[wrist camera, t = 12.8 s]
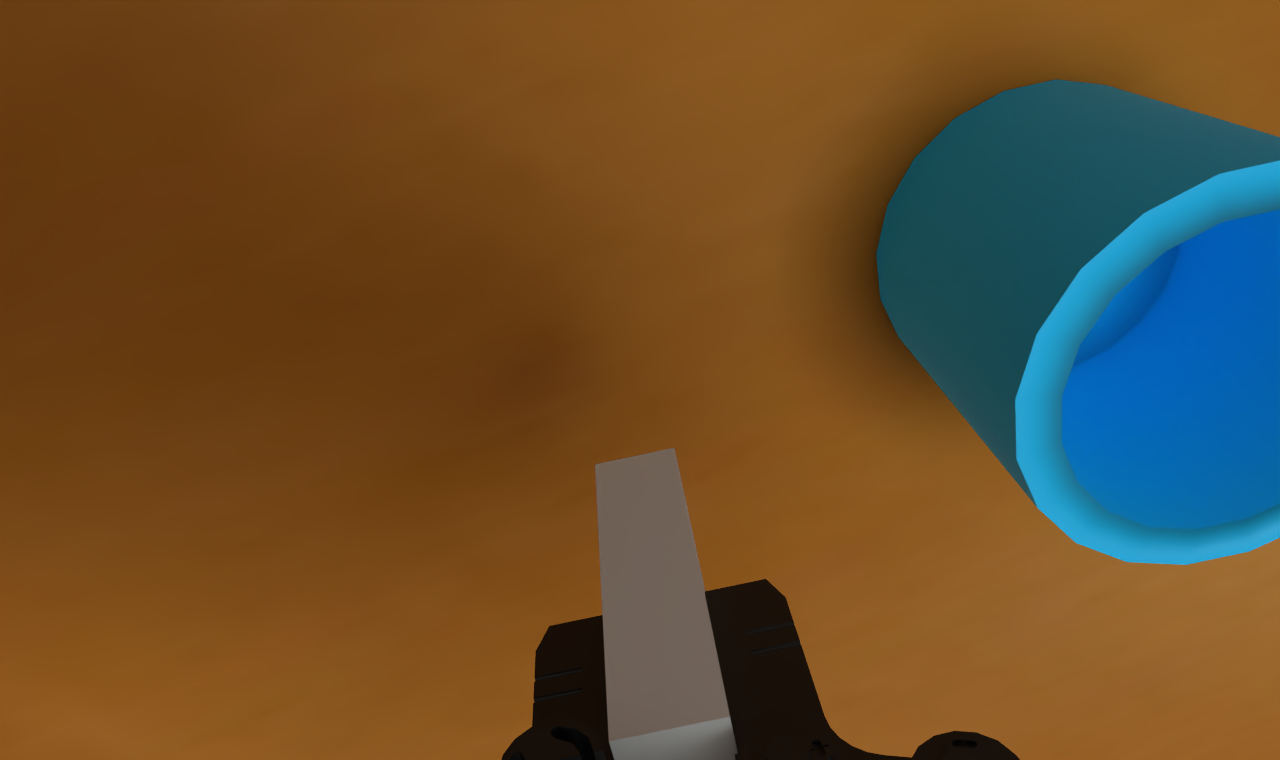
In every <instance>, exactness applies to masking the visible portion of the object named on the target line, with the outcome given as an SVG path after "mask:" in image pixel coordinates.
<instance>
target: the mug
mask: <svg viewBox="0 0 1280 760" xmlns="http://www.w3.org/2000/svg"><path fill="white" fill-rule="evenodd" d="M876 257H877V268H878V279H879V290H880V299H881V301H882V304H883V306H884V308H885V310H886V312H887V314H888V316H889V318H890V320H891V322H892V324H893V327H894V329H895V331H896V333H897V335H898V337H899V338H900V339H901V341H902V342H903V343H904V344H905V346H906V347H907V348H908V349H909V350H910V352H911V353H912V354H913V355H914V357H915V358H916V359H917V360H918V362H919V363H920V364H921V365H922V366H923V368H924V369H925V370H926V371H927V373H928V374H929V375H930V376H931V378H932V379H933V380H934V381H935V382H936V384H937V385H938V386H939V387H940V389H941V390H942V391H943V392H944V393H945V395H946V396H947V397H948V398H949V400H950V401H951V402H952V403H953V405H954V406H955V407H956V408H957V409H958V411H959V412H960V413H961V414H962V416H963V417H964V418H965V419H966V420H967V422H968V423H969V424H970V425H971V427H972V428H973V429H974V430H975V432H976V433H977V434H978V435H979V436H980V438H981V439H982V440H983V441H984V443H985V444H986V445H987V446H988V448H989V449H990V450H991V451H992V452H993V454H994V455H995V456H996V457H997V459H998V460H999V461H1000V462H1001V463H1002V465H1003V466H1004V467H1005V468H1006V470H1007V471H1008V472H1009V473H1010V475H1011V476H1012V477H1013V478H1014V479H1015V481H1016V482H1017V483H1018V484H1019V486H1020V487H1021V488H1022V489H1023V490H1024V492H1025V493H1026V494H1027V495H1028V497H1029V498H1030V499H1031V500H1032V502H1033V503H1034V504H1035V505H1036V506H1037V508H1038V509H1039V510H1041V511H1042V512H1043V513H1044V514H1045V515H1046V516H1047V517H1048V518H1049V519H1050V520H1051V521H1053V522H1054V523H1055V524H1056V525H1057V526H1058V527H1059V528H1060V529H1061V530H1062V531H1064V532H1065V533H1066V534H1067V535H1068V536H1069V537H1070V538H1071V539H1072V540H1073V541H1075V542H1076V543H1078V544H1081V545H1083V546H1086V547H1088V548H1091V549H1094V550H1096V551H1099V552H1102V553H1104V554H1107V555H1110V556H1112V557H1115V558H1118V559H1120V560H1123V561H1126V562H1140V563H1161V564H1182V565H1187V564H1192V563H1196V562H1201V561H1206V560H1211V559H1215V558H1220V557H1225V556H1230V555H1234V554H1239V553H1244V552H1249V551H1251V550H1253V549H1256V548H1258V547H1260V546H1262V545H1264V544H1267V543H1269V542H1271V541H1273V540H1275V539H1278V538H1280V137H1277V136H1274V135H1270V134H1267V133H1264V132H1260V131H1257V130H1254V129H1250V128H1247V127H1244V126H1240V125H1237V124H1234V123H1230V122H1227V121H1224V120H1220V119H1217V118H1214V117H1210V116H1207V115H1204V114H1200V113H1197V112H1194V111H1190V110H1187V109H1184V108H1180V107H1177V106H1174V105H1170V104H1167V103H1164V102H1160V101H1157V100H1154V99H1151V98H1147V97H1144V96H1141V95H1137V94H1134V93H1131V92H1127V91H1124V90H1121V89H1117V88H1114V87H1111V86H1107V85H1101V84H1092V83H1083V82H1075V81H1066V80H1057V79H1056V80H1051V81H1047V82H1042V83H1038V84H1033V85H1029V86H1024V87H1020V88H1015V89H1011V90H1006V91H1003V92H1001V93H999V94H997V95H996V96H994V97H992V98H990V99H988V100H987V101H985V102H983V103H981V104H979V105H978V106H976V107H974V108H972V109H971V110H969V111H967V112H965V113H963V114H962V115H960V116H958V117H956V118H954V119H953V120H952V121H951V122H950V123H949V124H948V125H947V126H946V127H945V128H944V129H943V130H942V131H941V132H940V133H939V134H938V135H937V136H936V137H935V138H934V139H933V140H932V141H931V142H930V143H929V144H928V145H927V146H926V147H925V148H924V149H923V150H922V151H921V152H920V153H919V154H918V155H917V156H916V157H915V158H914V160H913V161H912V163H911V165H910V167H909V168H908V170H907V172H906V174H905V175H904V177H903V179H902V181H901V182H900V184H899V186H898V188H897V189H896V191H895V193H894V195H893V196H892V198H891V200H890V202H889V203H888V206H887V210H886V214H885V218H884V223H883V227H882V231H881V235H880V240H879V244H878V248H877V252H876Z"/></svg>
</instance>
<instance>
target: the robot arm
mask: <svg viewBox="0 0 1280 760" xmlns="http://www.w3.org/2000/svg"><path fill="white" fill-rule="evenodd" d="M595 472H596V492H597V512H598V532H599V553H600V573H601V593H602V613H603V615H601V616H596V617H591V618H586V619H581V620H576V621H572V622H567V623H562V624H557V625H552V626H549V628H548V630H547V632H546V634H545V635H544V637H543V639H542V641H541V643H540V645H539V646H538V648H537V650H536V658H535V682H534V703H533V722H532V727H531V728H530V729H528V730H527V731H526V732H524V733H523V734H521V735H520V736H519V737H517V738H516V739H515V740H514V741H513V742H512V744H511V745H510V746H509V748H508V749H507V750H506V752H505V753H504V754H503V757H502V760H1020V759H1019V758H1018V757H1017V756H1016V755H1015V754H1014V753H1013V752H1011V751H1010V750H1009V749H1008V748H1006V747H1005V746H1004V745H1003V744H1001V743H1000V742H999V741H997V740H995V739H992V738H989V737H987V736H984V735H981V734H979V733H974V732H961V731H952V732H948V733H944V734H940V735H936V736H933V737H932V738H930V739H929V740H927V741H926V742H924V743H923V744H922V745H920V746H919V747H918V748H917V750H916V752H915V753H914V755H913V757H912V758H910V757H898V756H886V755H879V754H874V753H868V752H865V751H863V750H860V749H858V748H855V747H853V746H851V745H850V744H848V743H847V742H845V741H844V740H842V739H841V738H839V737H838V736H837V734H836V733H835V732H834V731H833V730H832V729H831V728H830V726H829V724H828V722H827V720H826V718H825V716H824V713H823V710H822V707H821V704H820V701H819V698H818V695H817V692H816V689H815V686H814V683H813V680H812V677H811V674H810V671H809V668H808V665H807V662H806V658H805V655H804V652H803V649H802V646H801V644H800V640H799V637H798V634H797V631H796V628H795V626H794V622H793V619H792V616H791V613H790V610H789V607H788V604H787V601H786V598H785V596H783V595H782V594H781V593H780V592H779V591H778V590H777V589H776V588H775V587H774V586H773V585H772V584H770V583H769V582H768V581H767V580H766V579H764V580H759V581H754V582H749V583H744V584H740V585H735V586H730V587H725V588H720V589H715V590H711V591H706V592H705V588H704V584H703V579H702V574H701V569H700V564H699V560H698V555H697V551H696V546H695V541H694V537H693V532H692V527H691V523H690V518H689V514H688V509H687V504H686V500H685V495H684V490H683V486H682V481H681V477H680V472H679V467H678V463H677V458H676V453H675V449H674V448H671V449H666V450H661V451H657V452H652V453H647V454H642V455H638V456H633V457H628V458H624V459H619V460H614V461H609V462H605V463H600V464H595Z"/></svg>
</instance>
